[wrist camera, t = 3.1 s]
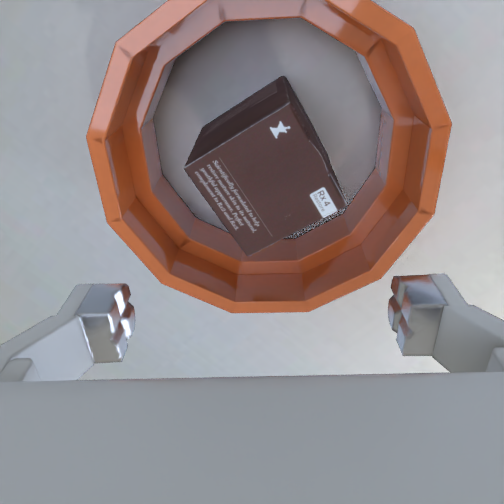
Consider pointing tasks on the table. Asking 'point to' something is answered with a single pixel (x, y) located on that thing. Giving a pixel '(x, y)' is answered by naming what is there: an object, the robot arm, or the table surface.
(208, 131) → the box
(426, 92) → the ring
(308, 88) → the table surface
